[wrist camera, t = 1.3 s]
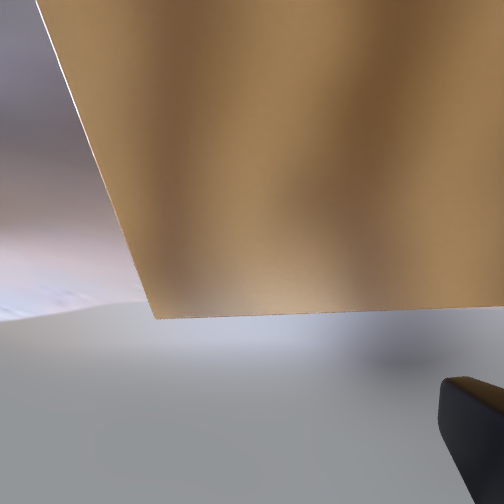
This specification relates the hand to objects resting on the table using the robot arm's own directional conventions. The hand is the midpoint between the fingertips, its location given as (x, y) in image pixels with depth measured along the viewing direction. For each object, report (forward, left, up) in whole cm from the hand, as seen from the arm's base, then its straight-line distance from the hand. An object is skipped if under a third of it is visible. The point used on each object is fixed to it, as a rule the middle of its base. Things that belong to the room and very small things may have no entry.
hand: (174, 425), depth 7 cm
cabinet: (-4, -2, -16) cm, 17 cm away
